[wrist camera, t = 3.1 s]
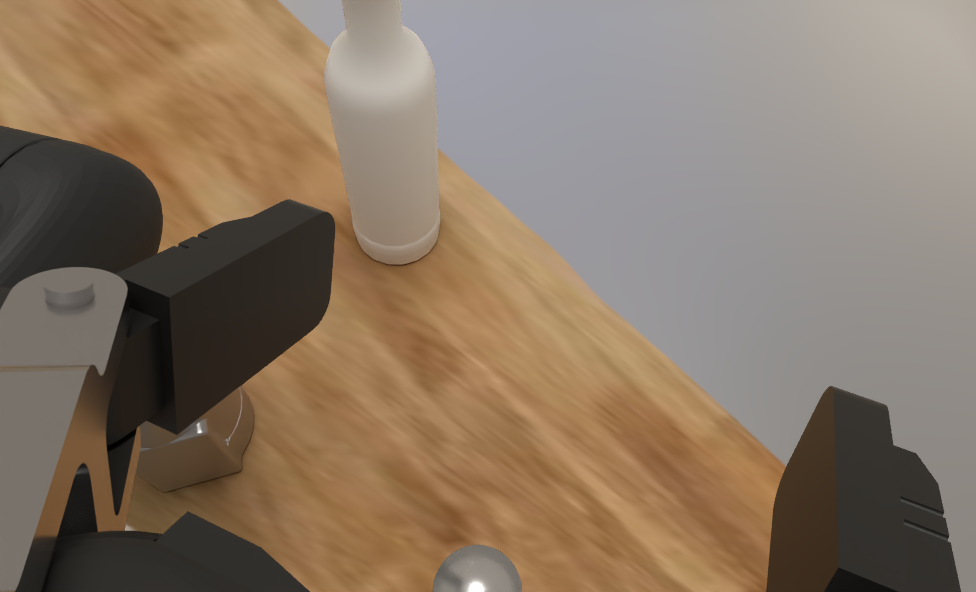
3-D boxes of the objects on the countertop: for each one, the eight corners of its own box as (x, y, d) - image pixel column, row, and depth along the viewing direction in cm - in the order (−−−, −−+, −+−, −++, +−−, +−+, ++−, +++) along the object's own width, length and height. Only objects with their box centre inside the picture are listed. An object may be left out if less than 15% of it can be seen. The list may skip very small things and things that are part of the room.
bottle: (452, 210, 70) (454, -81, 43) (422, 277, 66) (402, 4, 40) (375, 185, 71) (330, -115, 44) (340, 250, 67) (269, -34, 41)
